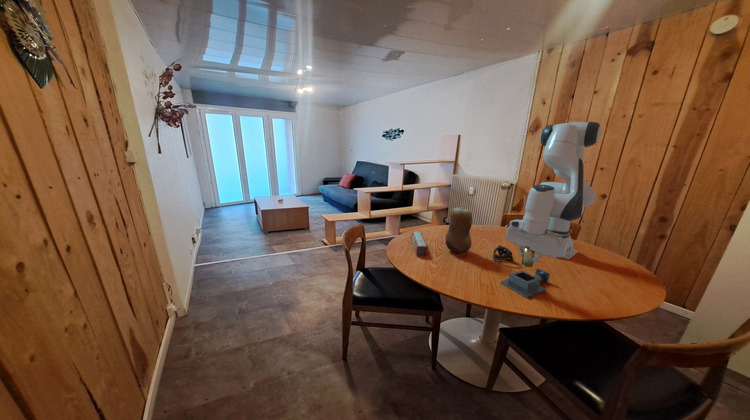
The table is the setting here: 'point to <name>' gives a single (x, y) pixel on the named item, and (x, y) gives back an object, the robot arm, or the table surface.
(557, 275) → the table surface
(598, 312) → the table surface
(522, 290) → the socket fitting
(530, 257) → the brass valve
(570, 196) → the robot arm
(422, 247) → the snack package
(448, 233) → the butternut squash
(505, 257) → the black mechanical part
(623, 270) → the table surface
